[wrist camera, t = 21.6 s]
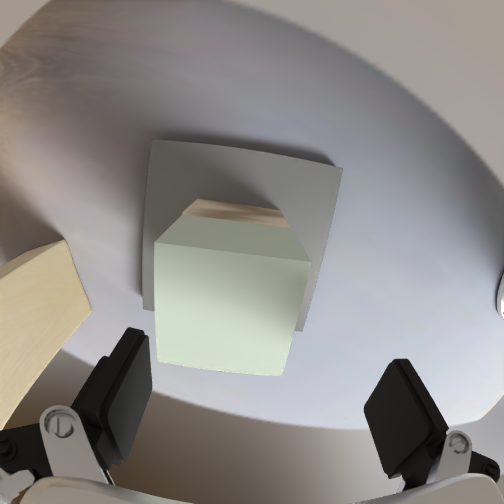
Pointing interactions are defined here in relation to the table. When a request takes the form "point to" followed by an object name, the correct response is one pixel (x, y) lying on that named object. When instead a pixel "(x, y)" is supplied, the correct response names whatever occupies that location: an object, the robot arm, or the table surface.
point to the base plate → (238, 197)
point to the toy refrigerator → (36, 317)
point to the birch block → (236, 212)
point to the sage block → (227, 294)
